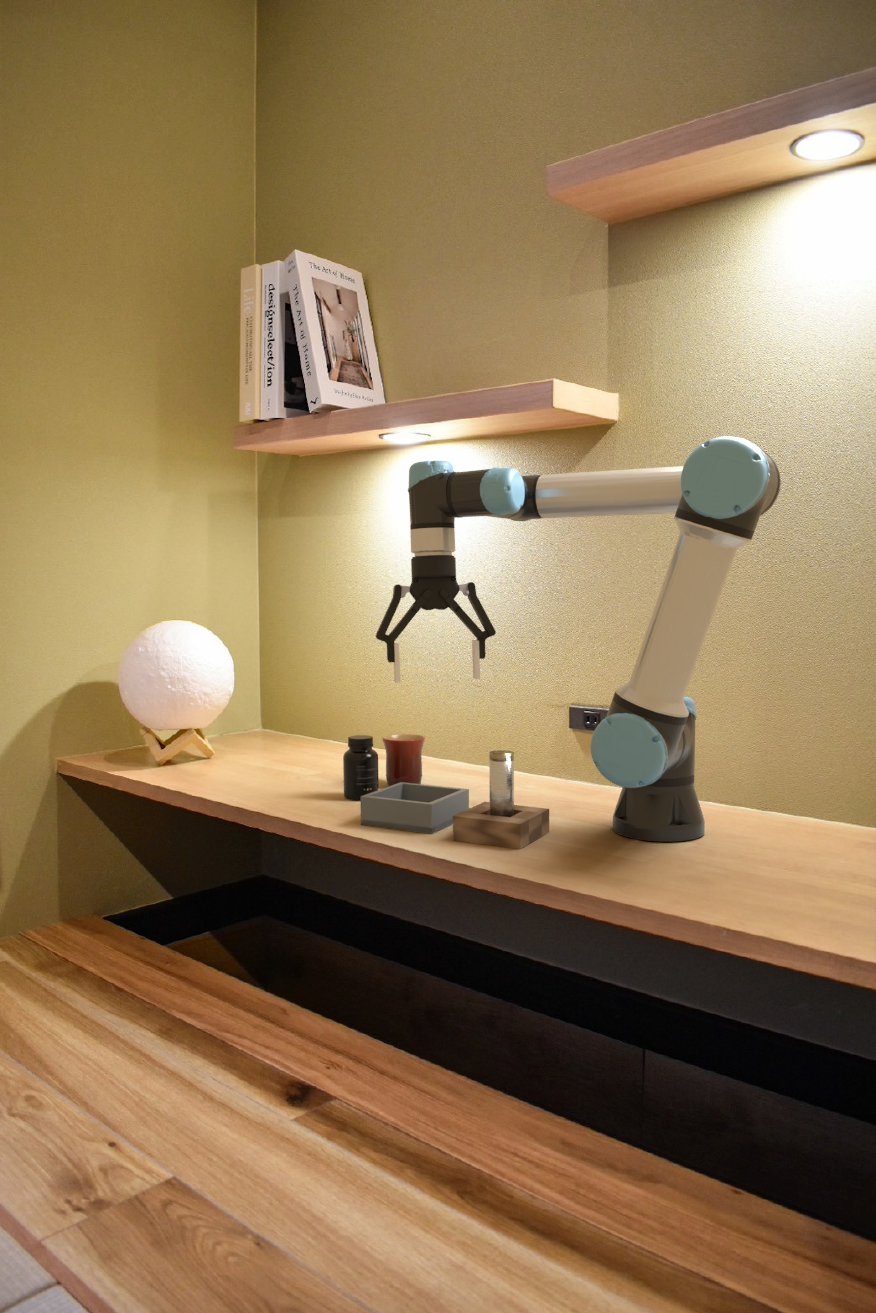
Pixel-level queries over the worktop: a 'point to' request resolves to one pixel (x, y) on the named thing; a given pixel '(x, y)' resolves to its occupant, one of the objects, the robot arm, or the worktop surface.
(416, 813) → the tray
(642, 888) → the worktop surface
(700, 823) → the robot arm
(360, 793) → the supplement bottle
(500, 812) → the pin
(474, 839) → the socket block
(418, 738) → the mug
